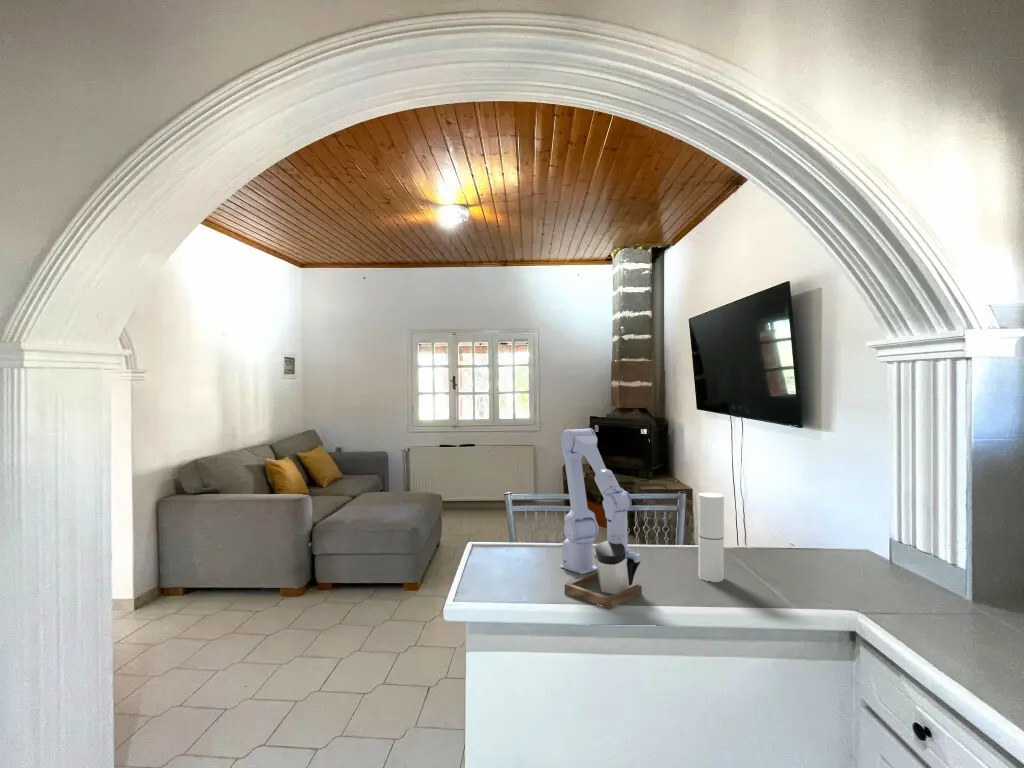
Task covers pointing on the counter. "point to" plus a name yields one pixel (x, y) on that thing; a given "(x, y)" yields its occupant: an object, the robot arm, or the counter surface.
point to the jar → (612, 567)
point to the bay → (578, 591)
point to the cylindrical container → (711, 537)
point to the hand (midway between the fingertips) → (617, 581)
